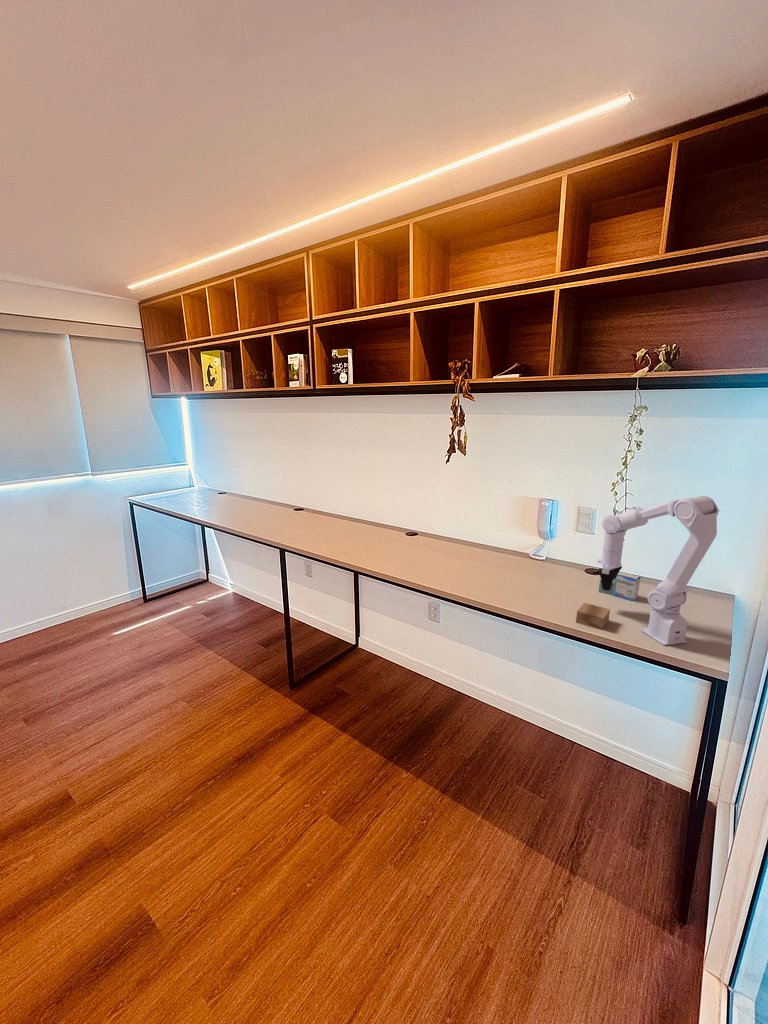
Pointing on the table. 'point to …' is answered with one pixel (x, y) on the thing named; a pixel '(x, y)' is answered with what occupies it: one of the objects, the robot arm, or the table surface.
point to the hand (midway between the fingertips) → (607, 587)
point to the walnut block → (593, 616)
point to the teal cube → (612, 589)
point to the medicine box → (627, 586)
